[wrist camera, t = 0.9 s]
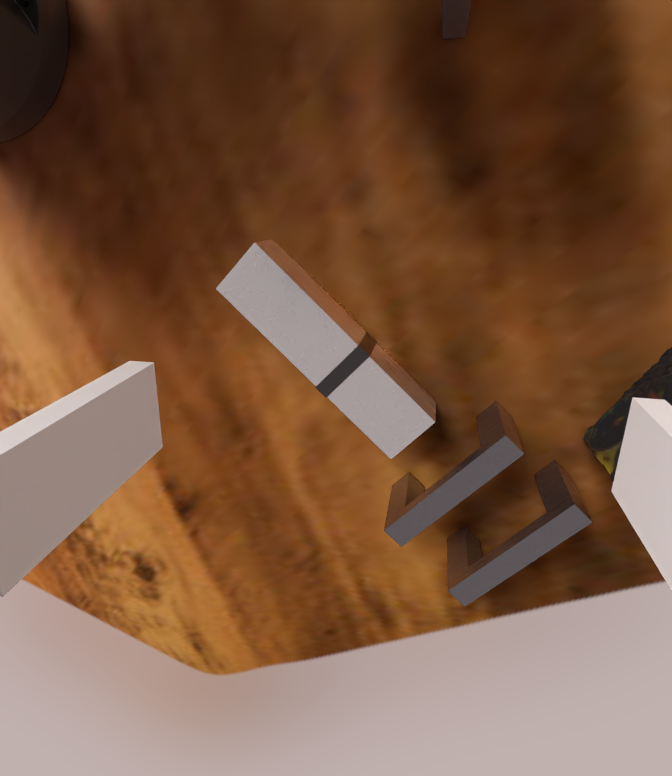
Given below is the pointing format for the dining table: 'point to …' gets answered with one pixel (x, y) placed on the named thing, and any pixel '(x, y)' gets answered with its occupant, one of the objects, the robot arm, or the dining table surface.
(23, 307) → the dining table surface
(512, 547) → the collar
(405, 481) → the collar
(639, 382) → the candle
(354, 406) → the banded white block
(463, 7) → the planter
